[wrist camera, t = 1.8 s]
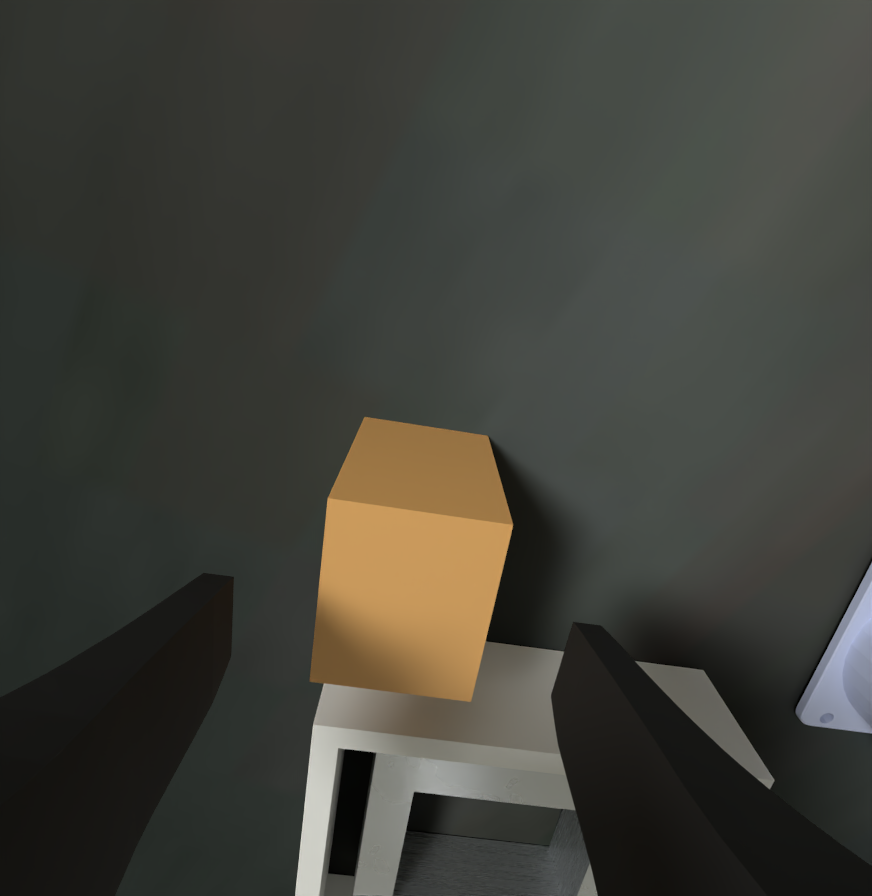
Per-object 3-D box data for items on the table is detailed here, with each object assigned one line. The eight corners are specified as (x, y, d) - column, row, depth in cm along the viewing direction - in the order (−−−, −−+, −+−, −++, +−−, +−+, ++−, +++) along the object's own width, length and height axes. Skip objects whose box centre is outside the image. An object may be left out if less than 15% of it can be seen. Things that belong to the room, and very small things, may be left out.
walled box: (703, 670, 20) (774, 780, 16) (599, 912, 25) (632, 1045, 21) (340, 622, 19) (313, 724, 15) (309, 882, 24) (282, 1013, 20)
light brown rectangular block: (487, 435, 17) (513, 525, 11) (460, 566, 19) (471, 702, 13) (364, 416, 17) (327, 498, 11) (348, 551, 18) (309, 681, 13)
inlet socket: (634, 712, 21) (665, 784, 18) (572, 875, 24) (589, 956, 21) (385, 681, 20) (377, 749, 17) (357, 852, 24) (346, 932, 21)
